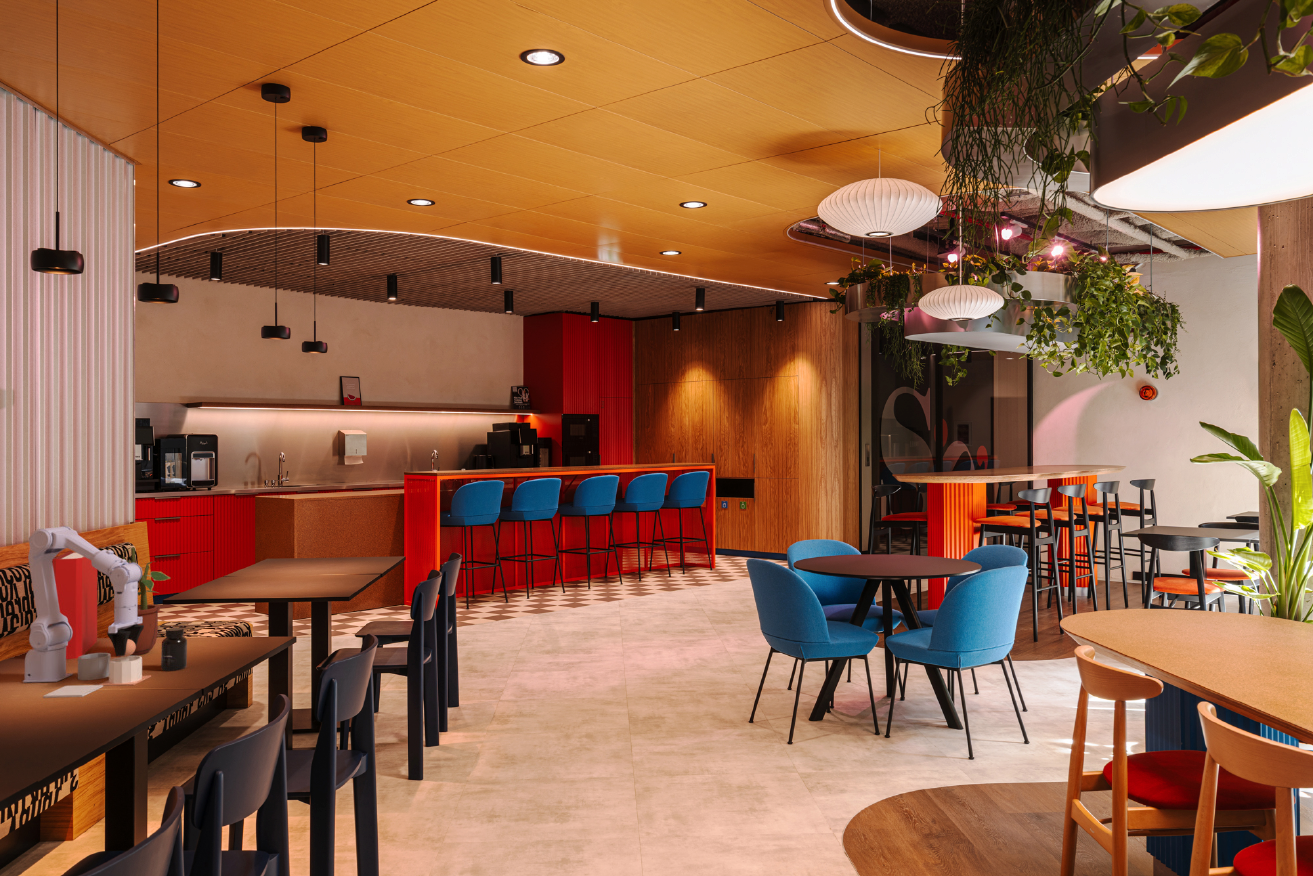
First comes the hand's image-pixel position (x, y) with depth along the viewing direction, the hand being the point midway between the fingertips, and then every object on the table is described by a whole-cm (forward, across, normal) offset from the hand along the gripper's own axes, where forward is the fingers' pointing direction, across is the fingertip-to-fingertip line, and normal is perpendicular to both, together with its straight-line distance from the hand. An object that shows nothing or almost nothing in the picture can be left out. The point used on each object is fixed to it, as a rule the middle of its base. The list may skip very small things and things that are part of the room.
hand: (125, 653), depth 253 cm
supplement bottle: (+8, +14, -7) cm, 18 cm away
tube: (+8, 0, 0) cm, 8 cm away
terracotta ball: (-2, 0, 0) cm, 2 cm away
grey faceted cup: (+8, +6, +12) cm, 16 cm away
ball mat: (+8, -11, +8) cm, 16 cm away
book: (+8, +42, +38) cm, 57 cm away
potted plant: (+8, +38, +16) cm, 42 cm away
